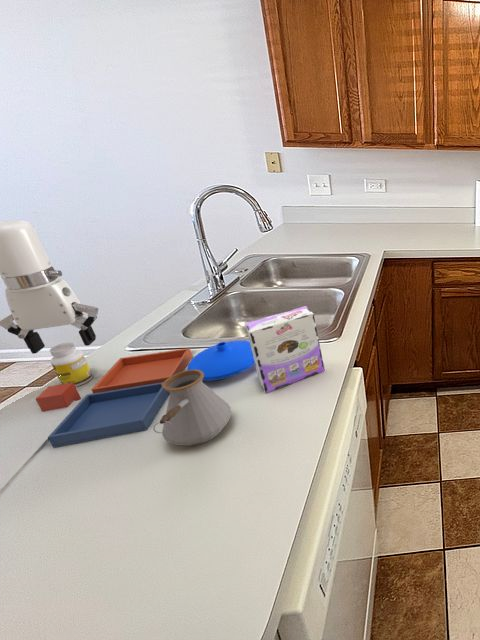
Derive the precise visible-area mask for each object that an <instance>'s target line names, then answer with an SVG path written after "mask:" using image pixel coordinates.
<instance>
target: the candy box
mask: <svg viewBox="0 0 480 640" xmlns="http://www.w3.org/2000/svg"><path fill="white" fill-rule="evenodd" d="M244 326H245V330H246V334H247V338H248V341H249V342H250V346H251V349H252V353H253V357H254V361H255V364H254V365H255V369H256V372H257V376H258V380H259V384H260V385H261V387H262V389H263V391H264V394H268V393H271V392H274V391H277V390H278V389H281V388H284V387H286V386H288V385H291V384H294V383H298V382H299V381H301V380H304V379H306V378H309V377H311V376H314V375H316V374H320V373H322V372H324V371H325V364H324V359H323V355H322V349H321V345H320V339H319V335H318V328H317V324H316V319H315V314H314V312H312V311H311V309H310V308H309V307H308V306H307V305H303V306H301V307H297V308H294V309H291V310H287V311H283V312H280V313H276V314H272V315H268V316H265V317H263V318H258V319H255V320H252V321H251V320H250V321H247V322H244Z"/></svg>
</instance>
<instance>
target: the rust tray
mask: <svg viewBox="0 0 480 640" xmlns="http://www.w3.org/2000/svg"><path fill="white" fill-rule="evenodd" d="M192 359H193V353H192V350H191V348H190V347H188V348H181V349H174V350H168V351H159V352H152V353H147V354H138V355H132V356H125V357H120V358H119V359H118V360H117V361H116V362H115V363H114V364H113V365H112V366H111V367H110V369H109V370H107V372H106V373H105V374H103V376H102V378H100V379H99V381H98V382H96V384H95V385H94V386H93V387H92V388H91V392H92V394H94V393H100V392H106V391H113V390H119V389H125V388H131V387H137V386H143V385H149V384H155V383H162V382H164V381H165V380H167V379H168V378H170V377H171V376H173V375H175V374H177V373H180V372H183V371H185V370H186V368H187V367H188V365H189V363H190V362H191V360H192Z"/></svg>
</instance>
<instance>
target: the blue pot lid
mask: <svg viewBox="0 0 480 640" xmlns="http://www.w3.org/2000/svg"><path fill="white" fill-rule="evenodd" d="M254 365H255V361H254V357H253V353H252V349H251V346H250V342H249V340H232V341H220V342H218V343H216V344H215V345H212V346H210V347H207V348H205V349H203V350H202V351H200V352H198V353H197V354H196V355H194V357H192V358H191V360H190V361H189V363H188V364H187V370H195V369H196V370H201V371H202V372H203V373H204V377H203V379H202V381H217V380H223V379H226V378H230V377H233V376H236V375H238V374H241V373H243V372H244V371H247V370H249V368H251V367H253V366H254Z"/></svg>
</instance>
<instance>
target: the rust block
mask: <svg viewBox="0 0 480 640" xmlns="http://www.w3.org/2000/svg"><path fill="white" fill-rule="evenodd" d="M81 400H82V398H81V395H80V393H79V391H78V389H77V387H75V384H74V383H67V384H55V385H49V386H47V387H46V388H45V389H44V390H43V391H41V393H40V394H39V395H38V396H36V397H35V401H36V403H37V405H38V407H39V409H40V411H41V412H48V411H54V410H60V409H67V408H69V406H71V405H72V404H73V402H77V401H81Z"/></svg>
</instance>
